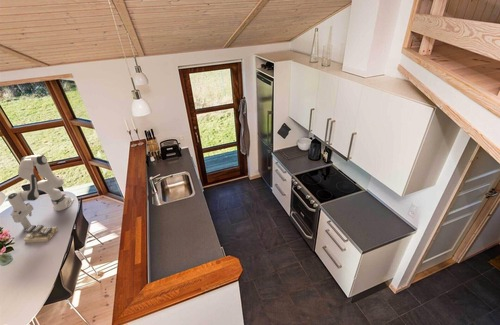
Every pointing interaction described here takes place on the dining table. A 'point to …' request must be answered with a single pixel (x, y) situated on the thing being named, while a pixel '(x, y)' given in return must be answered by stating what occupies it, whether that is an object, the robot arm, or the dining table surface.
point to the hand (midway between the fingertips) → (27, 219)
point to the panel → (39, 237)
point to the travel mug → (26, 223)
